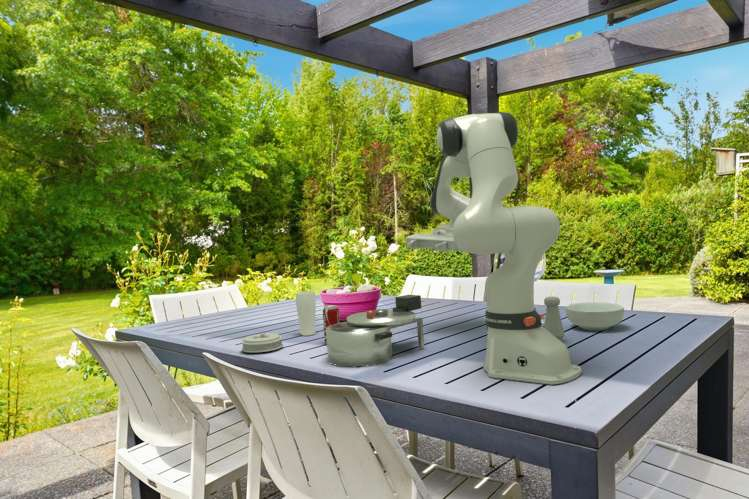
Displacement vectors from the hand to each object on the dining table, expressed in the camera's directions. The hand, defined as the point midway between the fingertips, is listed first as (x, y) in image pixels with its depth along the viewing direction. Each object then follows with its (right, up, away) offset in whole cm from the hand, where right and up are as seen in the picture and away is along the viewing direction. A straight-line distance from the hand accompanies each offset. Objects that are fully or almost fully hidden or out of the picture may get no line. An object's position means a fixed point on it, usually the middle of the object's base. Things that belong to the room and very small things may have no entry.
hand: (422, 247), depth 163 cm
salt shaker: (+37, -28, -15) cm, 48 cm away
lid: (-50, -33, -1) cm, 60 cm away
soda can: (-28, -31, +2) cm, 42 cm away
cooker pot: (-16, -31, -16) cm, 38 cm away
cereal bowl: (+55, -26, 0) cm, 61 cm away
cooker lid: (-11, -21, -12) cm, 27 cm away
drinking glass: (-39, -31, +19) cm, 53 cm away
